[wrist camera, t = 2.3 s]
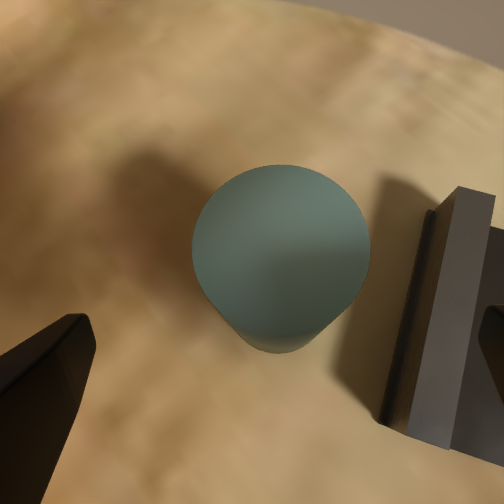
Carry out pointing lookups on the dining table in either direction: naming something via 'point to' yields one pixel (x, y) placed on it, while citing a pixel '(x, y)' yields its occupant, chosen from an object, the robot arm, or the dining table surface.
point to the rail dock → (450, 333)
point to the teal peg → (280, 254)
